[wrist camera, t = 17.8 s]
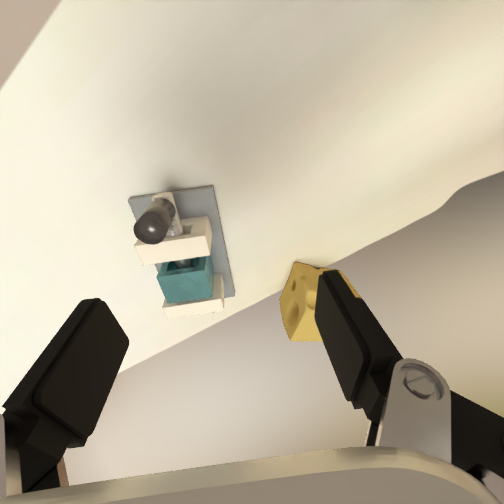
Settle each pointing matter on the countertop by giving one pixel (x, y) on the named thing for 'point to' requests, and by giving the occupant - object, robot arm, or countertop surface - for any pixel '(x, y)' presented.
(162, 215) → the shaft
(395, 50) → the countertop surface
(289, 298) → the cheese
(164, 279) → the frame
